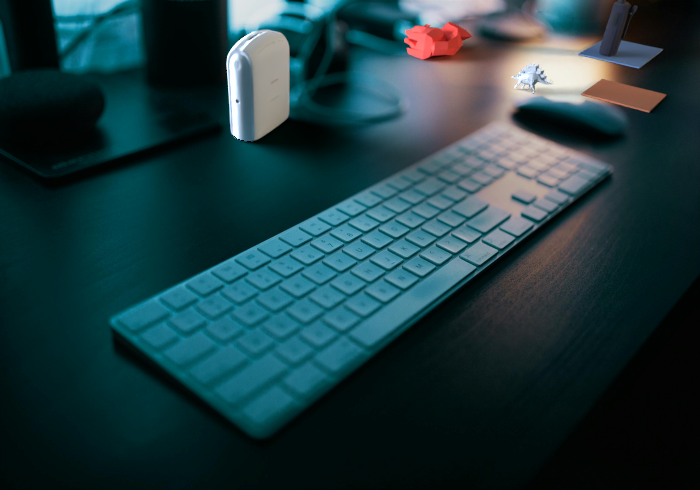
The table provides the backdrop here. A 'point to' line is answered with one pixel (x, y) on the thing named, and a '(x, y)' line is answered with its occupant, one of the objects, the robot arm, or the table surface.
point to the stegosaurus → (531, 77)
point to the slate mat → (625, 54)
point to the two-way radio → (616, 27)
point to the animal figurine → (435, 40)
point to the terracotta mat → (624, 95)
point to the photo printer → (258, 84)
